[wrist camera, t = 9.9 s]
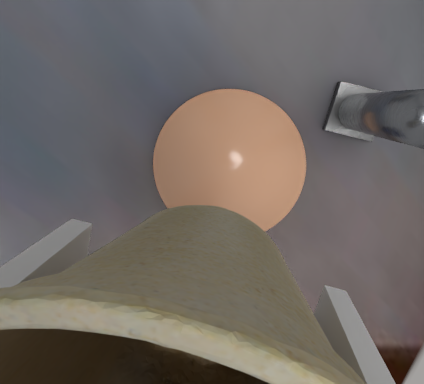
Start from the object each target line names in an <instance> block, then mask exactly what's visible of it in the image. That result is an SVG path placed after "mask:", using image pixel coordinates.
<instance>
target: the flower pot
mask: <svg viewBox="0 0 424 384" xmlns="http://www.w3.org/2000/svg"><path fill="white" fill-rule="evenodd" d="M0 384H365V382H364V381H363V380H362V379H361V378H360V377H359V375H358V374H357V373H356V372H355V371H354V370H353V369H352V368H351V367H350V366H349V365H348V364H347V363H346V362H345V361H344V360H343V359H342V358H341V357H340V356H339V355H338V354H337V353H336V352H335V351H334V350H333V348H332V346H331V344H330V343H329V341H328V339H327V337H326V336H325V334H324V332H323V330H322V328H321V327H320V325H319V323H318V321H317V319H316V318H315V316H314V314H313V312H312V310H311V309H310V307H309V305H308V303H307V301H306V299H305V298H304V296H303V294H302V292H301V290H300V289H299V287H298V285H297V283H296V281H295V279H294V278H293V276H292V274H291V272H290V270H289V268H288V267H287V265H286V263H285V261H284V258H283V257H282V255H281V253H280V251H279V249H278V248H277V246H276V245H275V243H274V242H273V241H272V240H271V238H270V237H269V236H268V235H267V234H266V233H265V232H264V231H263V230H262V229H261V228H260V227H259V226H258V225H256V224H255V223H254V222H252V221H251V220H249V219H247V218H246V217H244V216H242V215H240V214H238V213H236V212H234V211H231V210H228V209H226V208H222V207H218V206H210V205H185V206H177V207H173V208H168V209H165V210H163V211H160V212H158V213H156V214H154V215H152V216H151V217H149V218H148V219H146V220H145V221H144V222H142V223H140V224H139V225H137V226H136V227H134V228H133V229H131V230H129V231H128V232H126V233H125V234H123V235H122V236H120V237H118V238H117V239H115V240H113V241H112V242H110V243H108V244H107V245H105V246H104V247H102V248H100V249H99V250H97V251H95V252H94V253H92V254H90V255H89V256H87V257H85V258H84V259H82V260H80V261H79V262H77V263H75V264H74V265H72V266H70V267H69V268H67V269H65V270H64V271H62V272H60V273H58V274H53V275H49V276H44V277H39V278H36V279H32V280H29V281H25V282H22V283H19V284H17V285H15V286H12V287H5V288H0Z"/></svg>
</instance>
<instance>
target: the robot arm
mask: <svg viewBox="0 0 424 384" xmlns="http://www.w3.org/2000/svg"><path fill="white" fill-rule="evenodd" d="M91 231H92V224H91V223H87V222H83V221H80V220H76V219H70V220H69V221H67V222H66V223H64V224H63V225H62V226H60V227H59V228H57V229H56V230H54V231H53V232H51V233H50V234H48V235H47V236H45V237H44V238H42V239H41V240H39V241H38V242H36V243H35V244H33V245H32V246H30V247H29V248H27V249H26V250H24V251H23V252H22V253H20V254H19V255H17V256H16V257H14V258H13V259H11V260H10V261H8V262H7V263H5V264H4V265H2V266H1V267H0V288H5V287H12V286H15V285H17V284H19V283H22V282H25V281H29V280H32V279H36V278H39V277H44V276H49V275H53V274H58V273H60V272H62V271H64V270H65V269H67V268H69V267H70V266H72V265H74V264H75V263H77V262H79V261H80V260H82V259H84V258H85V257H87V256H88V250H89V244H90V237H91ZM314 316H315V318H316V319H317V321H318V323H319V325H320V327H321V328H322V330H323V332H324V334H325V336H326V337H327V339H328V341H329V343H330V344H331V346H332V348H333V350H334V351H335V352H336V353H337V354H338V355H339V356H340V357H341V358H342V359H343V360H344V361H345V362H346V363H347V364H348V365H349V366H350V367H351V368H352V369H353V370H354V371H355V372H356V373H357V374H358V375H359V377H360V378H361V379H362V380H363V381H364V382H365V384H395V382H394V380H393V378H392V376H391V374H390V372H389V370H388V369H387V367H386V365H385V363H384V361H383V359H382V357H381V355H380V354H379V352H378V350H377V348H376V346H375V344H374V342H373V340H372V339H371V337H370V335H369V333H368V331H367V329H366V327H365V325H364V324H363V322H362V320H361V318H360V316H359V314H358V312H357V310H356V309H355V307H354V305H353V303H352V301H351V299H350V297H349V295H348V294H347V292H346V291H345V290H341V289H337V288H333V287H330V286H326V285H324V288H323V290H322V293H321V296H320V298H319V301H318V304H317V306H316V309H315V312H314Z"/></svg>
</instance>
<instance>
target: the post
mask: <svg viewBox="0 0 424 384" xmlns="http://www.w3.org/2000/svg"><path fill="white" fill-rule="evenodd" d="M323 129H324V130H327V131H331V132H335V133H339V134H343V135H347V136H351V137H355V138H359V139H363V140H367V141H371V142H372V140H373V138H374V136H377V137H381V138H385V139H389V140H392V141H396V142H400V143H404V144H407V145H411V146H415V147H419V148H423V149H424V89H420V90H405V91H391V92H382V91H378V90H374V89H370V88H366V87H362V86H358V85H354V84H350V83H346V82H342V81H341V82H338V83H337V86H336V89H335V92H334V95H333V98H332V101H331V104H330V107H329V110H328V114H327V117H326V120H325V123H324V126H323Z"/></svg>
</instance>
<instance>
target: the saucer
mask: <svg viewBox="0 0 424 384" xmlns="http://www.w3.org/2000/svg"><path fill="white" fill-rule="evenodd" d="M153 171H154V179H155V182H156V186H157V189H158V192H159V194H160V196H161V198H162V200H163V202H164V204H165V205H166V207H167V208H173V207H177V206H185V205H210V206H218V207H222V208H226V209H228V210H231V211H234V212H236V213H238V214H240V215H242V216H244V217H246V218H247V219H249V220H251V221H252V222H254V223H255V224H256V225H258V226H259V227H260V228H261V229H262V230H263V231H264V232H265V231H267V230H268V229H270V228H272V227H273V226H275V225H276V224H277V223H278V222H280V221H281V220H282V219H283V218H284V217H285V216H286V215H287V214H288V213H289V211H290V210H291V209H292V207H293V206H294V205H295V203H296V201H297V199H298V198H299V195H300V193H301V190H302V188H303V184H304V180H305V174H306V155H305V149H304V145H303V142H302V138H301V136H300V134H299V132H298V130H297V128H296V126H295V125H294V123H293V122H292V120H291V119H290V118H289V116H288V115H287V114H286V113H285V112H284V111H283V110H282V109H281V108H280V107H279V106H277V105H276V104H275V103H273V102H272V101H270V100H269V99H267V98H265V97H263V96H261V95H259V94H256V93H253V92H250V91H245V90H240V89H219V90H213V91H209V92H205V93H203V94H200V95H198V96H196V97H194V98H192V99H190V100H188V101H187V102H185V103H184V104H183V105H181V106H180V107H179V108H178V109H177V110H176V111H175V112H174V113H173V114H172V115H171V116H170V117H169V119H168V120H167V121H166V123H165V124H164V126H163V128H162V130H161V131H160V134H159V136H158V139H157V142H156V145H155V149H154V157H153Z"/></svg>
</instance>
